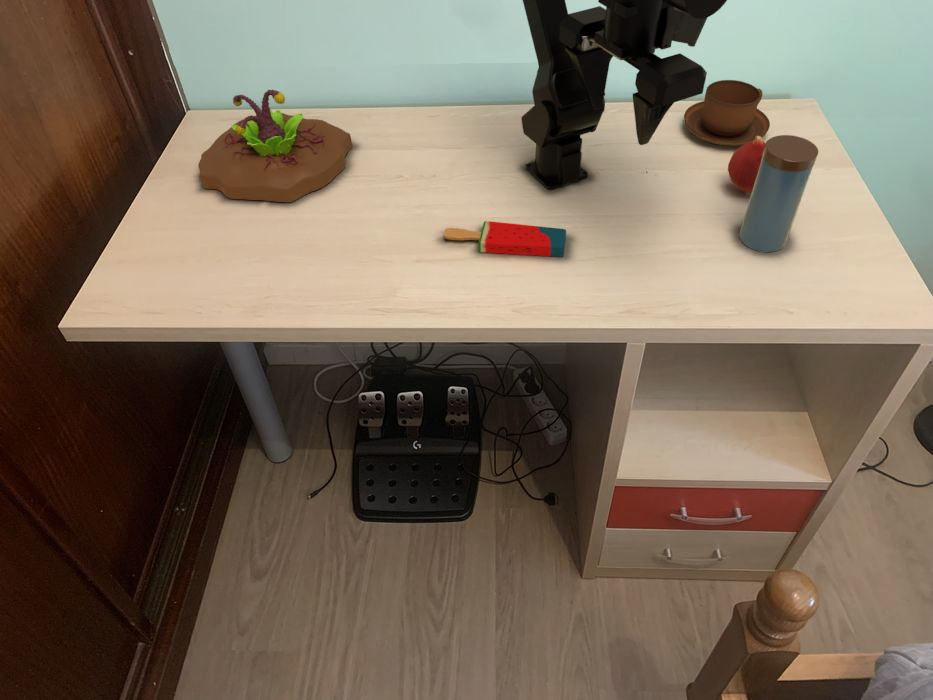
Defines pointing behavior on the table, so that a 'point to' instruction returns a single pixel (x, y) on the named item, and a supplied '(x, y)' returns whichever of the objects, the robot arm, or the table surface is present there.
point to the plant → (274, 155)
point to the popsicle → (514, 239)
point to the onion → (746, 164)
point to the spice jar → (777, 192)
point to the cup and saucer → (728, 114)
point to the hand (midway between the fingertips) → (619, 125)
